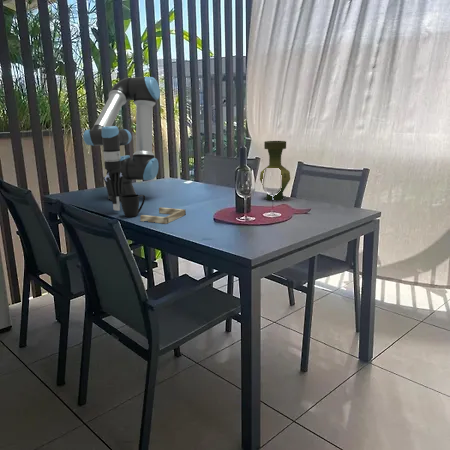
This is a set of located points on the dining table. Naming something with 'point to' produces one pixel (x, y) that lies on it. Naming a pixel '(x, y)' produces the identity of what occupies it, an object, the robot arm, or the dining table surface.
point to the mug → (131, 204)
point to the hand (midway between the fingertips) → (116, 210)
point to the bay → (174, 215)
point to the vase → (276, 164)
